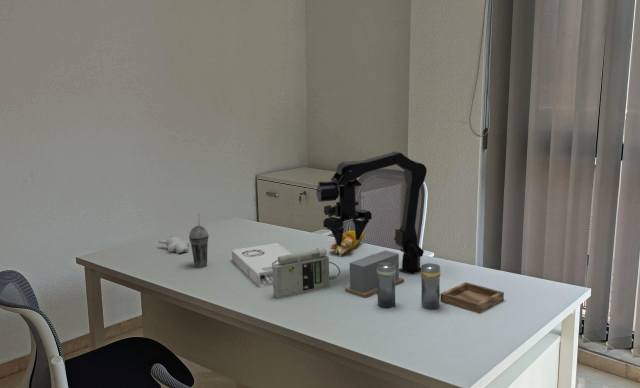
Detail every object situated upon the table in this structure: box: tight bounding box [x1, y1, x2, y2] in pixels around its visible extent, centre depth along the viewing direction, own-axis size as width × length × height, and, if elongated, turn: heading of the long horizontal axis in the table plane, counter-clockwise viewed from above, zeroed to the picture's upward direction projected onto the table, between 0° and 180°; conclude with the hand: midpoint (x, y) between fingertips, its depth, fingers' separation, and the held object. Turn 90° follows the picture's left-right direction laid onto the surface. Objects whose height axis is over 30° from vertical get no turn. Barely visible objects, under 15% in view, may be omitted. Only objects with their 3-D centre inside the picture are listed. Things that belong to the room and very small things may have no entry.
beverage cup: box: [188, 214, 209, 269], centre depth 245 cm, size 7×7×20 cm
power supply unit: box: [231, 242, 293, 288], centre depth 241 cm, size 19×33×5 cm, turn 24°
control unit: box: [344, 250, 405, 299], centre depth 219 cm, size 20×9×10 cm, turn 134°
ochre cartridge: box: [420, 262, 441, 311], centre depth 200 cm, size 6×6×13 cm
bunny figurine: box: [158, 235, 190, 255], centre depth 269 cm, size 10×5×15 cm
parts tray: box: [439, 281, 505, 314], centre depth 205 cm, size 14×14×3 cm
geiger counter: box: [272, 246, 341, 299], centre depth 218 cm, size 14×6×25 cm
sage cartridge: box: [377, 262, 396, 309], centre depth 203 cm, size 6×6×13 cm
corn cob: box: [329, 230, 365, 257], centre depth 263 cm, size 8×8×25 cm
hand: (348, 242), depth 226 cm, fingers open, 9 cm apart
